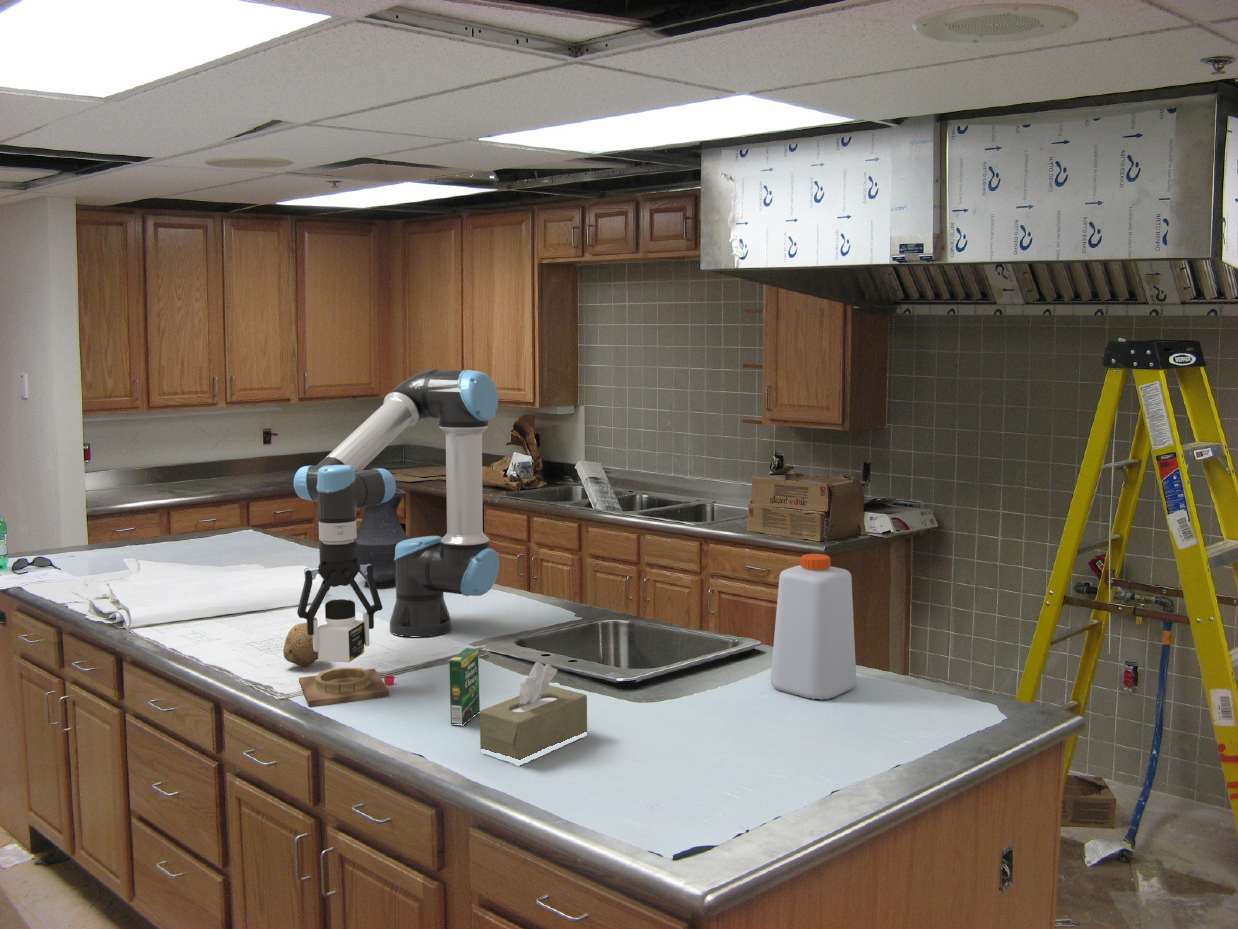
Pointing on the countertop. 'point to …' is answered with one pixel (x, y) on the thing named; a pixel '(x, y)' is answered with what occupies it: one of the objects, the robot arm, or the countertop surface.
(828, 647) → the plastic bottle
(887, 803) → the countertop surface
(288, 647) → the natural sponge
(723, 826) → the countertop surface
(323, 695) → the collar board
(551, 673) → the tissue box
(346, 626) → the medicine bottle
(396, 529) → the pitcher
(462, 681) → the coffee box
